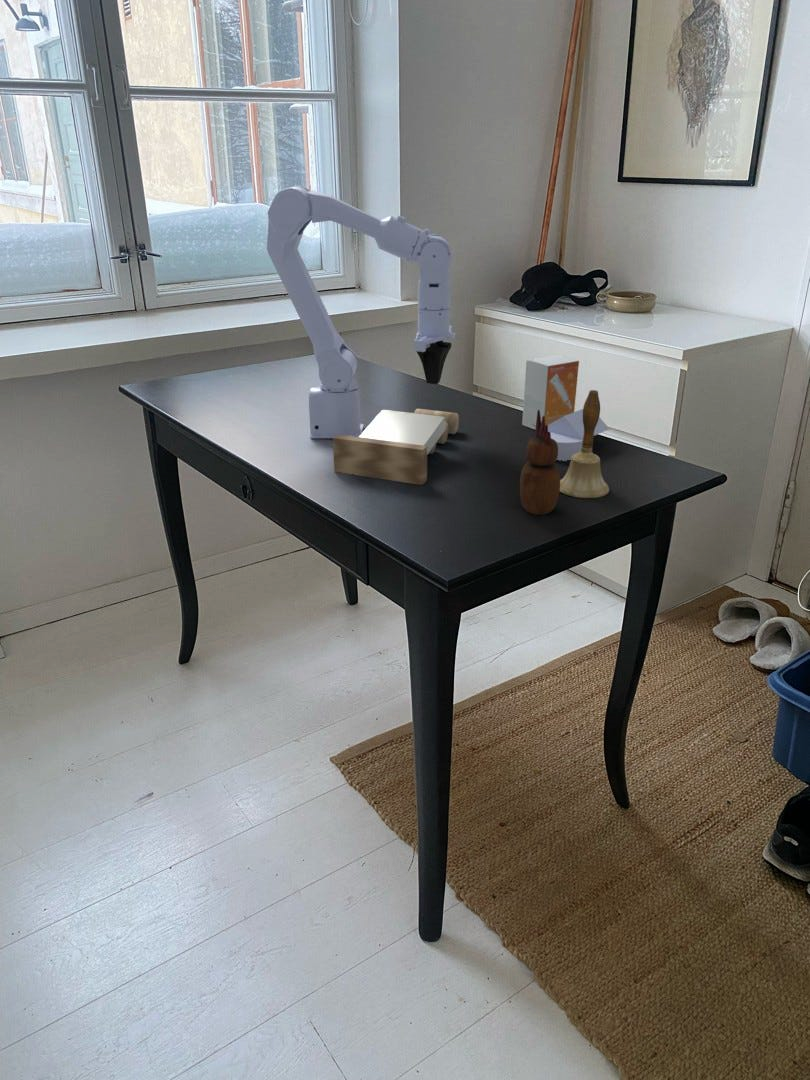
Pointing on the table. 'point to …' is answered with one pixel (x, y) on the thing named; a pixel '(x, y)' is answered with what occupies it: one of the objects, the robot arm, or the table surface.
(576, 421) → the wedge on round base
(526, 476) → the wooden figurine
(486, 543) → the table surface
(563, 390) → the small box
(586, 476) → the hand bell
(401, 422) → the slab
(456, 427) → the roller track
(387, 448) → the block
